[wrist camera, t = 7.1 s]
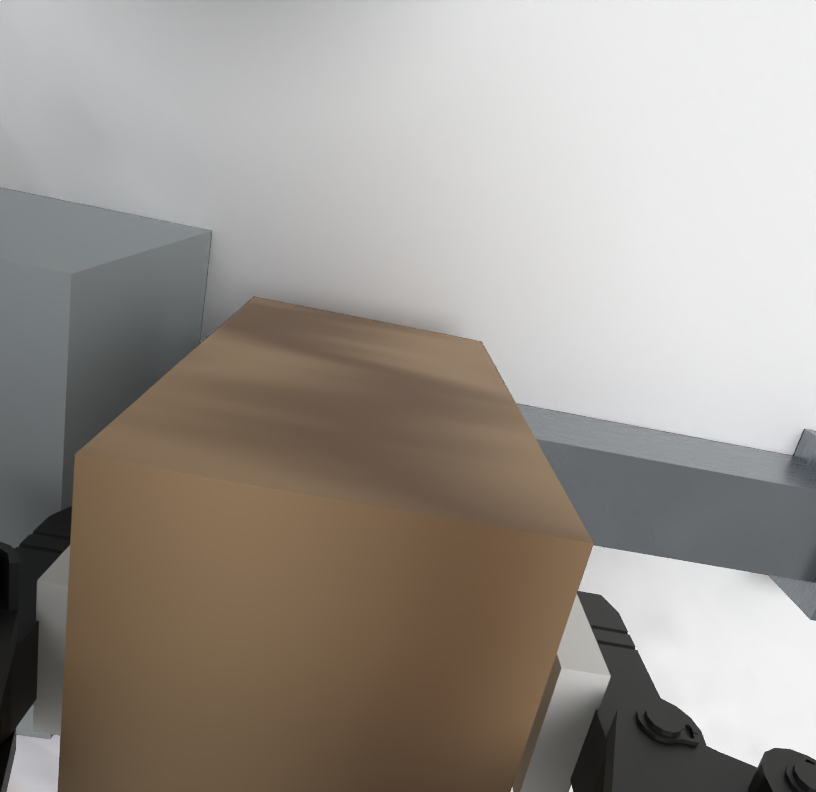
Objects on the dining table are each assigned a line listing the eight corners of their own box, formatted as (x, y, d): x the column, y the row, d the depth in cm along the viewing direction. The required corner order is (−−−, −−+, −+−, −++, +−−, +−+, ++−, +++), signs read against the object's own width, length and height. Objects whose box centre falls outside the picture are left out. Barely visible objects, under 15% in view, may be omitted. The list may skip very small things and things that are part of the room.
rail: (187, 459, 22) (150, 510, 18) (202, 312, 20) (166, 339, 17) (802, 565, 24) (869, 629, 20) (859, 439, 22) (942, 486, 19)
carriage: (239, 514, 22) (50, 942, 10) (273, 279, 19) (74, 454, 7) (414, 544, 22) (445, 985, 10) (468, 319, 20) (593, 542, 8)
